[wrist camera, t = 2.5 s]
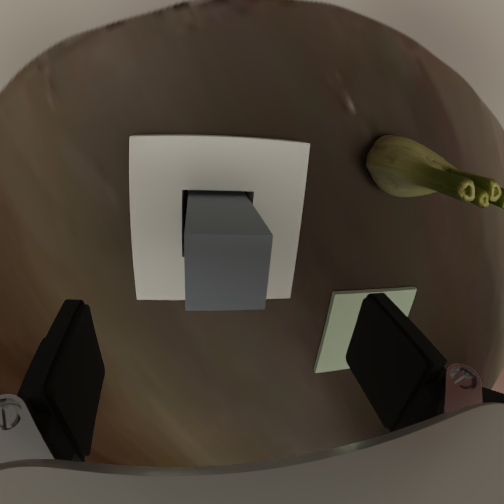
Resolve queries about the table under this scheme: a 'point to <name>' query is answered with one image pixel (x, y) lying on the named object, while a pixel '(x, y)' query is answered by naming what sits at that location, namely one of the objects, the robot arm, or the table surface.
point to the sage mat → (350, 323)
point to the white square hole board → (211, 178)
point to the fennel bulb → (426, 173)
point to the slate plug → (225, 252)
